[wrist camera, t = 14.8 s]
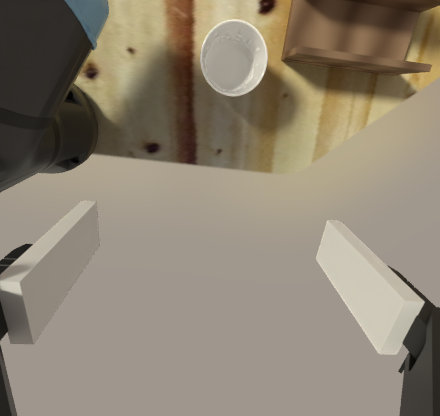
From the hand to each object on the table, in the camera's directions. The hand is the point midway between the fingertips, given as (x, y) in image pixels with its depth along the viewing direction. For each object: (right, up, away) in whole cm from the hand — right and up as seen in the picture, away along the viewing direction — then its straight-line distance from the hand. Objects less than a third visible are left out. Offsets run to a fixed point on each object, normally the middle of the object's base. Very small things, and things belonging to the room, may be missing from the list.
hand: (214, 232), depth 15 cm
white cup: (+1, +23, +25) cm, 34 cm away
